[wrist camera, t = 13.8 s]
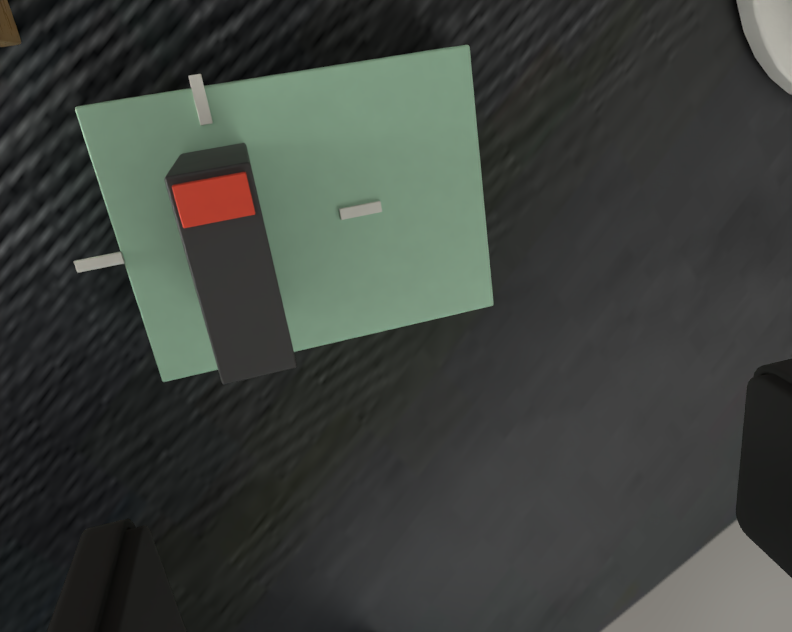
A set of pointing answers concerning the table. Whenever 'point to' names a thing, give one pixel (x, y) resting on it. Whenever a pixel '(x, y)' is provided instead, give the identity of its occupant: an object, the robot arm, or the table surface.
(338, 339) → the toggle switch base
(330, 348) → the table surface
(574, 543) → the table surface
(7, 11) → the tan rotary knob base
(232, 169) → the bar knob
